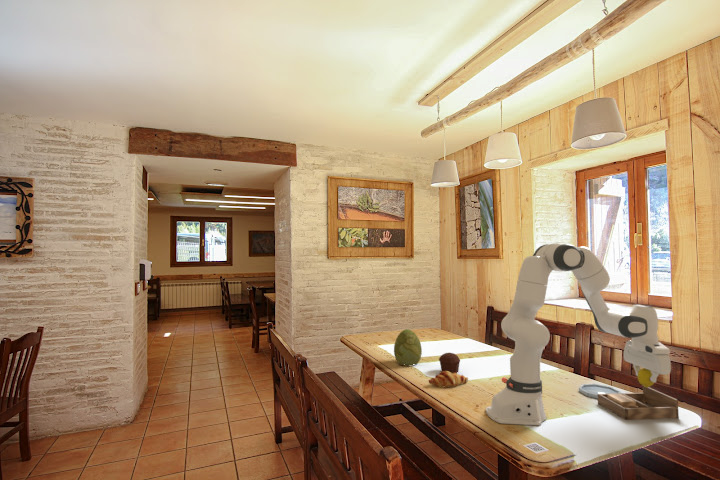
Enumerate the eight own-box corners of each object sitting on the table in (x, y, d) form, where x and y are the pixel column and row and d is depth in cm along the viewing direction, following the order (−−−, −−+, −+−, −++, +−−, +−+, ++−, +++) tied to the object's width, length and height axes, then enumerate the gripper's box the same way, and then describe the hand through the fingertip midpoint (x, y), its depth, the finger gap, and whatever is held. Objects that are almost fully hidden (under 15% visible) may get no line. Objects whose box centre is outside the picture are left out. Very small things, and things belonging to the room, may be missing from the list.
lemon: (638, 384, 157) (637, 365, 158) (655, 387, 154) (654, 367, 154) (637, 388, 153) (636, 368, 154) (654, 391, 150) (653, 370, 150)
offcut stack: (624, 416, 148) (623, 402, 148) (606, 407, 157) (606, 394, 157) (639, 416, 148) (638, 402, 149) (621, 406, 157) (620, 393, 158)
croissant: (465, 387, 192) (461, 371, 196) (474, 383, 184) (470, 367, 187) (426, 390, 187) (423, 374, 191) (434, 387, 178) (431, 369, 182)
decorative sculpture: (393, 367, 217) (393, 332, 217) (394, 359, 233) (393, 326, 234) (422, 367, 215) (421, 332, 215) (421, 359, 231) (420, 326, 232)
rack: (625, 419, 145) (625, 401, 145) (597, 403, 161) (597, 386, 161) (678, 418, 145) (677, 399, 146) (645, 401, 161) (644, 385, 162)
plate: (594, 400, 164) (594, 396, 164) (572, 387, 180) (572, 384, 180) (630, 399, 164) (630, 395, 164) (604, 386, 180) (604, 383, 180)
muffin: (449, 367, 214) (449, 349, 215) (464, 372, 205) (464, 353, 206) (434, 371, 208) (434, 353, 208) (449, 376, 199) (449, 357, 199)
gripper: (619, 339, 165) (619, 371, 164) (657, 351, 144) (659, 387, 144) (633, 339, 165) (633, 371, 164) (673, 350, 144) (675, 387, 144)
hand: (645, 378), depth 154 cm, fingers closed on lemon, 6 cm apart
